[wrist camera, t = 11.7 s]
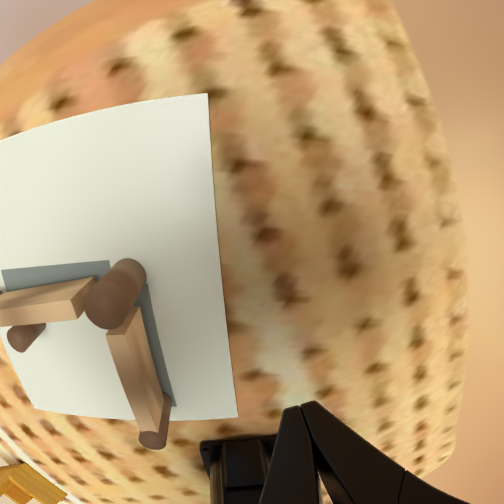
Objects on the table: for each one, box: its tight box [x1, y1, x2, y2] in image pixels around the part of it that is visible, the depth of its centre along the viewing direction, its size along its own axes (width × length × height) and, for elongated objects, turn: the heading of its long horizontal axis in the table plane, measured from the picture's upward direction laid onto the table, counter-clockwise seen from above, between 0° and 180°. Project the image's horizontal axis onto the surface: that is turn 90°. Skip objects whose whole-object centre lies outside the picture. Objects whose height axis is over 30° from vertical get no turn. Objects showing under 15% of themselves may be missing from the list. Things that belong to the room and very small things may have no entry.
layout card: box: [0, 93, 238, 421], centre depth 16 cm, size 20×17×1 cm
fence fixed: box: [7, 258, 172, 450], centre depth 15 cm, size 11×9×4 cm
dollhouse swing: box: [0, 463, 67, 504], centre depth 17 cm, size 10×10×9 cm
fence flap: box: [0, 277, 96, 327], centre depth 13 cm, size 9×2×3 cm, turn 99°
